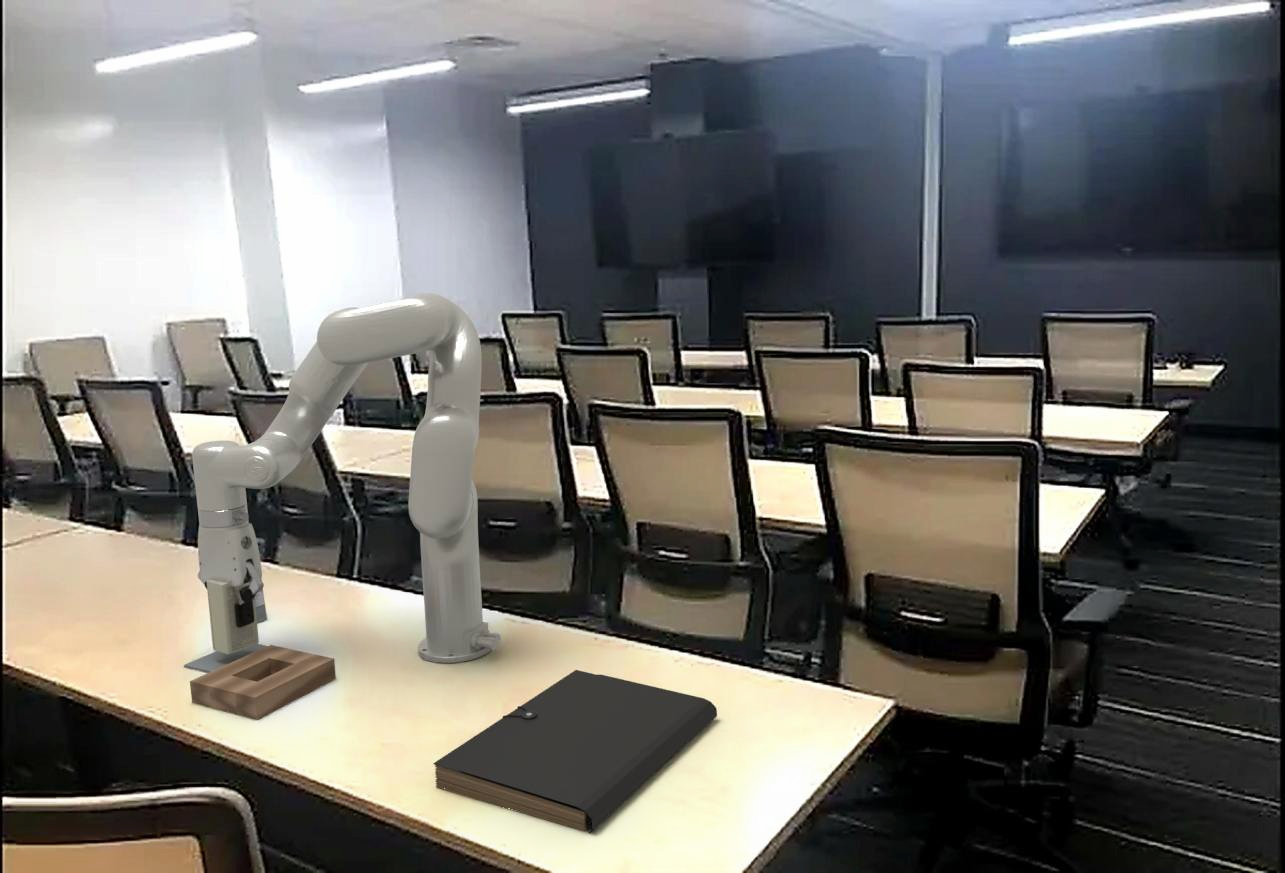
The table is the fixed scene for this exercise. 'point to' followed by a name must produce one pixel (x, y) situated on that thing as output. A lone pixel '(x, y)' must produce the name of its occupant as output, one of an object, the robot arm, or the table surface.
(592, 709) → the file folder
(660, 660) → the table surface
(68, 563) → the table surface
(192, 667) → the slate mat
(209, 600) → the skincare box
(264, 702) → the pocket block
